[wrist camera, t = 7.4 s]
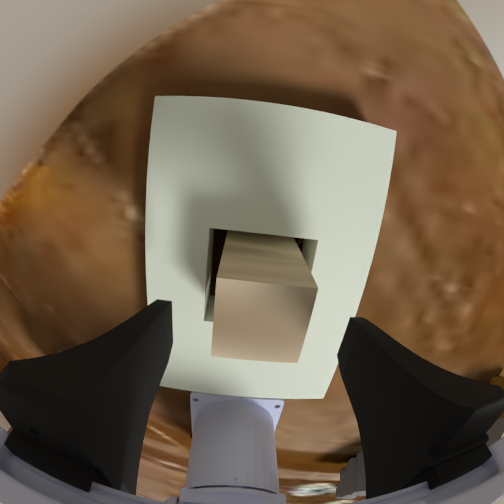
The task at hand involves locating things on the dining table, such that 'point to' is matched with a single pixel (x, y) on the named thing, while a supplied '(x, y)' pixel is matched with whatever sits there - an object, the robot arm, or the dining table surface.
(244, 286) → the square peg
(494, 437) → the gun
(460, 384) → the robot arm
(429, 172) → the dining table surface
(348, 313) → the socket plate
